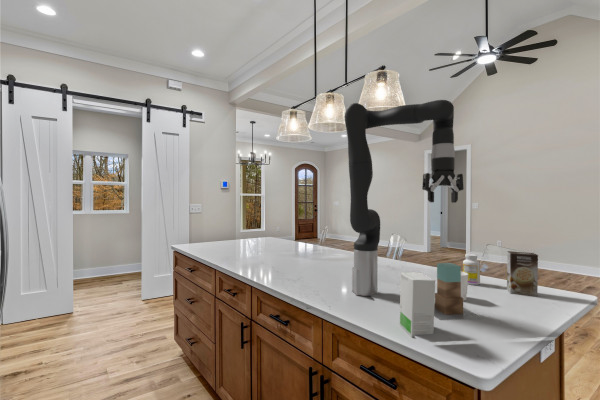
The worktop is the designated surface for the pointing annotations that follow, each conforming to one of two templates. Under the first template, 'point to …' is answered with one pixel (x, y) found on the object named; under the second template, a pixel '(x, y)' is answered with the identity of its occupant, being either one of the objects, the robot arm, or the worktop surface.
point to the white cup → (464, 284)
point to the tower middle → (449, 289)
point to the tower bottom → (448, 305)
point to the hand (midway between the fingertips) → (442, 202)
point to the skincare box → (417, 303)
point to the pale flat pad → (456, 315)
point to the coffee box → (522, 273)
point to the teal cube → (449, 272)
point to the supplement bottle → (472, 269)
